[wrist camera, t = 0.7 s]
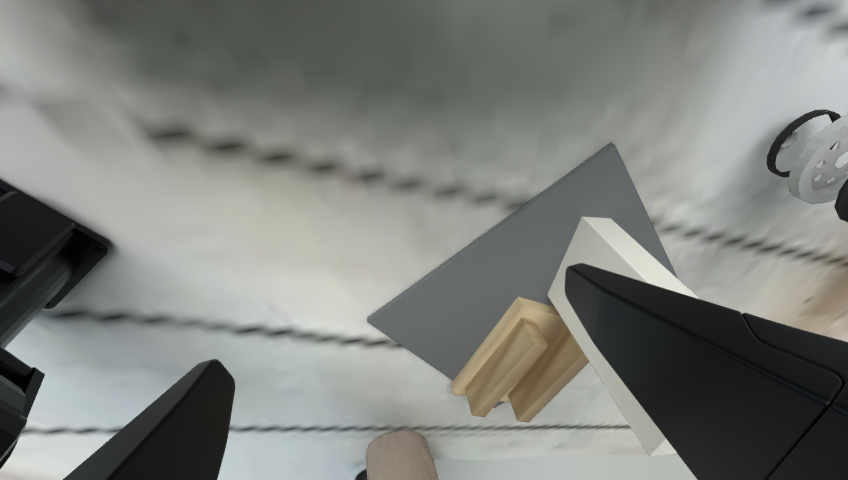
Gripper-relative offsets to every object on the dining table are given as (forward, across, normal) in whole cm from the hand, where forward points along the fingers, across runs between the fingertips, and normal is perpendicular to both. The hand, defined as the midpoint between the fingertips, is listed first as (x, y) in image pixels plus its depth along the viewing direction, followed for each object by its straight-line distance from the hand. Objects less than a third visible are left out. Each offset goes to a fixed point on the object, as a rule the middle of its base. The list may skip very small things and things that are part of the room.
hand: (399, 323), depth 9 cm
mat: (+13, +10, -16) cm, 23 cm away
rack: (+13, +7, -20) cm, 25 cm away
